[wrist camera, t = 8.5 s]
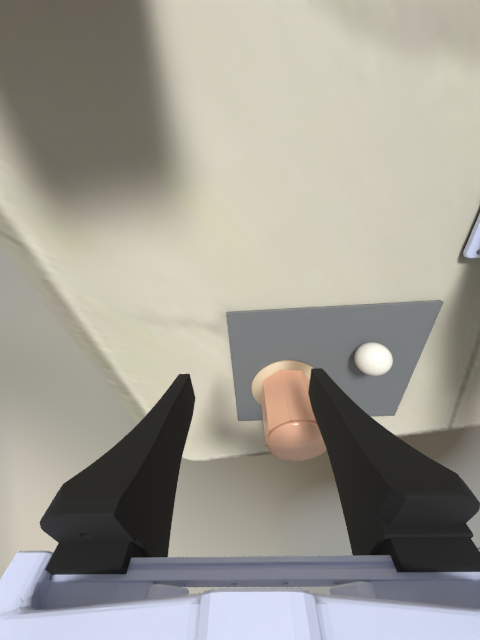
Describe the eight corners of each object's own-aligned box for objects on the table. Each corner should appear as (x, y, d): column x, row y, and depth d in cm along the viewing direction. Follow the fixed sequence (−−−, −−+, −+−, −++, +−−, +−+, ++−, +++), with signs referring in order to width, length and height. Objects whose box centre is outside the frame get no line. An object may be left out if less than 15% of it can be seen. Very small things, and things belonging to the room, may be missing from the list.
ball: (384, 335, 22) (405, 355, 19) (376, 360, 24) (394, 382, 21) (352, 336, 22) (367, 357, 20) (346, 361, 24) (360, 383, 21)
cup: (316, 371, 24) (338, 425, 19) (305, 406, 27) (321, 462, 21) (264, 368, 24) (271, 422, 18) (259, 403, 27) (263, 459, 21)
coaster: (324, 358, 24) (325, 359, 23) (316, 408, 28) (317, 410, 27) (250, 361, 24) (250, 363, 24) (252, 410, 28) (253, 412, 28)
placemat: (440, 300, 21) (443, 302, 20) (392, 412, 29) (394, 415, 28) (226, 311, 21) (226, 313, 21) (238, 418, 29) (238, 421, 29)
